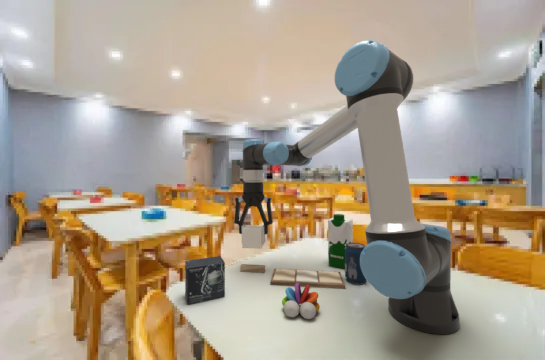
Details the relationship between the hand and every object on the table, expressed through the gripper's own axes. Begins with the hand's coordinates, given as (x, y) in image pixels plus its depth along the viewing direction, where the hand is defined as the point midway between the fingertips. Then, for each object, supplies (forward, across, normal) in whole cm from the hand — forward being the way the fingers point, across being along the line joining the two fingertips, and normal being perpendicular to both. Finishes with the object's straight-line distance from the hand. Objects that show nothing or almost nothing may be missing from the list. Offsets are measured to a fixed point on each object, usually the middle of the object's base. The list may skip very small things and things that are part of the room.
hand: (253, 242), depth 92 cm
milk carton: (+10, -33, -8) cm, 35 cm away
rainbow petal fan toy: (+10, -18, +27) cm, 34 cm away
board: (+10, -20, +7) cm, 23 cm away
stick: (+10, 0, +2) cm, 10 cm away
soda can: (+10, -36, +6) cm, 38 cm away
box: (+10, +10, +22) cm, 26 cm away
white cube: (+1, 0, 0) cm, 1 cm away
